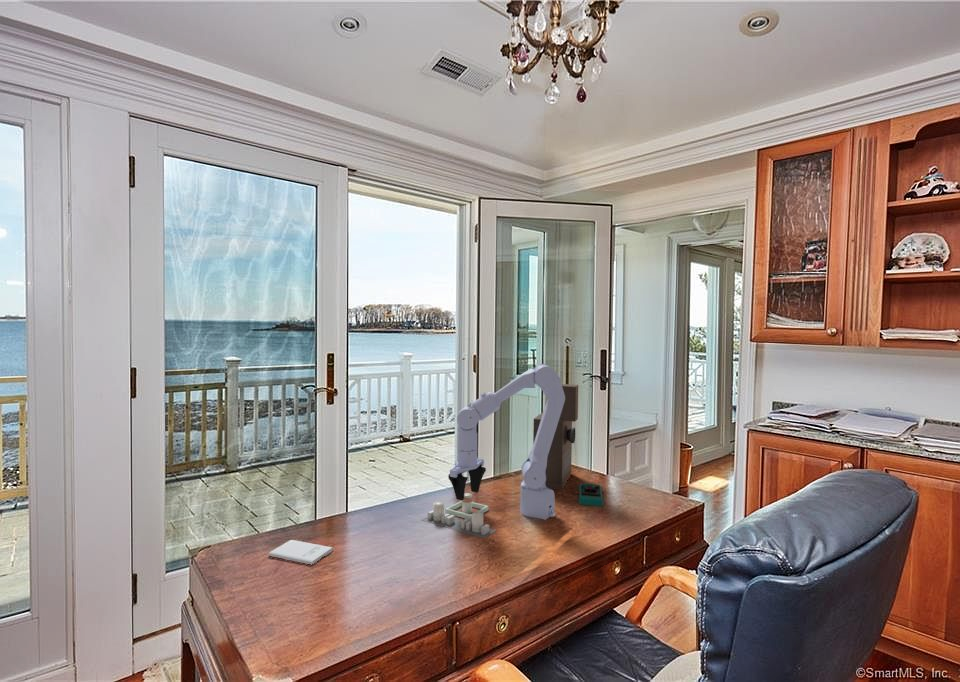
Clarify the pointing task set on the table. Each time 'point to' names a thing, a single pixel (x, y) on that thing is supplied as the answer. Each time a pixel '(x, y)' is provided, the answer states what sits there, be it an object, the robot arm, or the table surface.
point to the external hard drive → (301, 551)
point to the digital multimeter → (590, 494)
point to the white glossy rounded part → (438, 511)
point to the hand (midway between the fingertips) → (467, 495)
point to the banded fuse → (467, 503)
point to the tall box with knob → (561, 440)
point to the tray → (463, 515)
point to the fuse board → (459, 525)
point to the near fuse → (477, 522)
